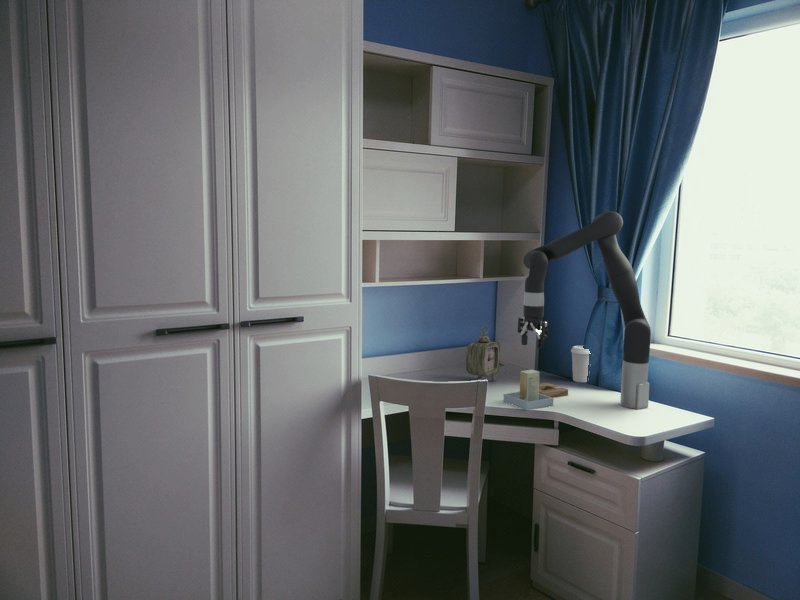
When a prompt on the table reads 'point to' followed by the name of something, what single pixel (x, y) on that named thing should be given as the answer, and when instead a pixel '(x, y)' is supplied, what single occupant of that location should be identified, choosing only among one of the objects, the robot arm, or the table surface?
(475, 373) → the tabletop clock
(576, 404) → the table surface
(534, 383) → the skincare box
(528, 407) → the tray
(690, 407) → the table surface
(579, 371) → the coffee cup
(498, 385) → the table surface
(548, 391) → the walnut plate
